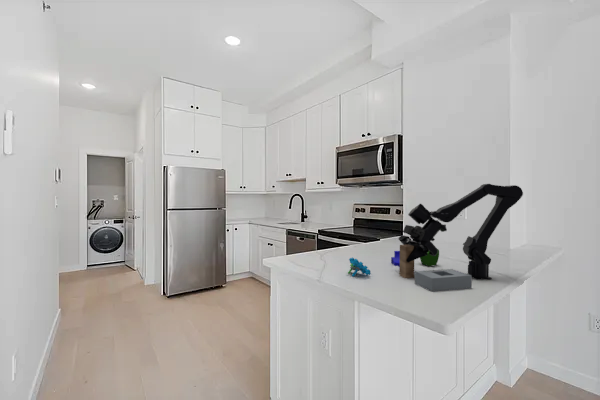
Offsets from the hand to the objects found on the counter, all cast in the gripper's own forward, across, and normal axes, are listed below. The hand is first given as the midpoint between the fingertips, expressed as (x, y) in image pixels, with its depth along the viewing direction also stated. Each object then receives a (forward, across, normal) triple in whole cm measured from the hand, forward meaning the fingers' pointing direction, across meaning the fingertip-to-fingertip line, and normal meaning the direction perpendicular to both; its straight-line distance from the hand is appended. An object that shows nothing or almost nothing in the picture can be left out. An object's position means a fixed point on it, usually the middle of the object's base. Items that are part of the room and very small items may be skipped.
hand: (403, 260), depth 118 cm
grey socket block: (0, +14, +10) cm, 17 cm away
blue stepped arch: (-2, -17, +11) cm, 21 cm away
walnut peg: (+4, 0, +6) cm, 7 cm away
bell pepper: (-12, -15, +21) cm, 29 cm away
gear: (+16, -6, -7) cm, 19 cm away
